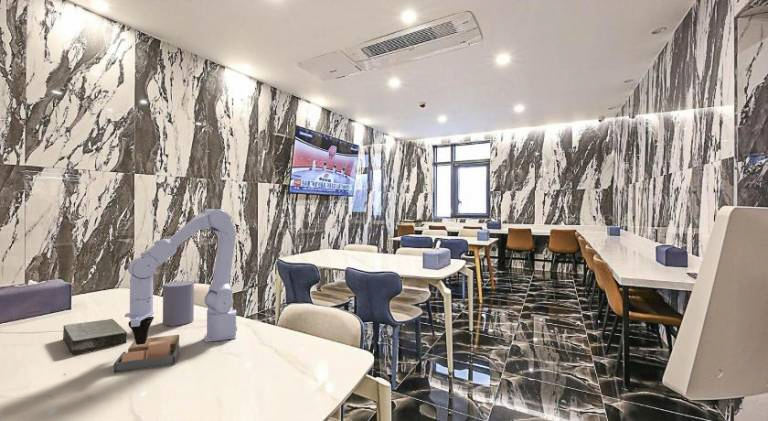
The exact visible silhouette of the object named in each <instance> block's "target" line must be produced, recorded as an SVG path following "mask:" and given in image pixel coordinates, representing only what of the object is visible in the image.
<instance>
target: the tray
mask: <svg viewBox="0 0 768 421" xmlns="http://www.w3.org/2000/svg"><path fill="white" fill-rule="evenodd" d="M124 353H127V351H123V352H122V353H121V354H120V355H119V357H118V358H116V360H115V362H114V363H113V373H114V374H116V373H122V372H130V371H131V372H132V371H139V370H143V369H150V368H152V369H153V368H159V367H165V366H174V365H176V362H177V360H178V357H179V355H180V344H179V345H177V347H176V349H175V350H170V356H165V357H157V358H149V359H148V356H147V359H142V360H134V361H126V362H122V354H124Z"/></svg>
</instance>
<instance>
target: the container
mask: <svg viewBox="0 0 768 421" xmlns="http://www.w3.org/2000/svg"><path fill="white" fill-rule="evenodd" d="M194 300H195V282H194V281H192V280H178V281H177V280H176V281H170V282H166V283H163V285H162V325H164V326H166V327H179V326H183V325H187V324H190V323H191V322H193V321H194V319H195V318H194V315H195V314H194V310H195V308H194V307H195V305H194V304H195V303H194V302H195V301H194Z"/></svg>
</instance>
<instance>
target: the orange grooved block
mask: <svg viewBox="0 0 768 421" xmlns="http://www.w3.org/2000/svg"><path fill="white" fill-rule="evenodd" d="M164 340H170V350H175V349H176V347H177V345H180V334H173V335H166V336H165V335H164V336H156V337H155V336H154V337H147V340H146V343H145V344H140V345H137V344H136V341H135V340H134V341H133V342H132V343H131V345H130V346H129V347H128V349H127V353H128V352H137V351H145V350H148V344H149V343H150V342H155V341H164Z"/></svg>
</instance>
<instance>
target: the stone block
mask: <svg viewBox="0 0 768 421" xmlns="http://www.w3.org/2000/svg"><path fill="white" fill-rule="evenodd" d="M127 332H128V331H126V330H125V329H124V328H123V327H122V326H121V325H120V324H119V323H118V322H117V321H116V320H114V318H109V319H101V320H95V321H94V320H93V321H85V322H78V323H71V324H70V323H69V324H64V325H63V332H62V341H63V342H64V344H65V345H66V347H67V348H68V351H69V353H70V355H72V356H76V355H81V354H85V352H86V353H89V351H90V352H95V351H97V350H98V349H99V350H103V349H107V348H111V346H112V347H116V346H120V345H124V343H125V344H127V339H128V333H127ZM115 345H116V346H115ZM106 347H107V348H106ZM102 348H103V349H102ZM94 350H95V351H94ZM99 350H98V351H99Z"/></svg>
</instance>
